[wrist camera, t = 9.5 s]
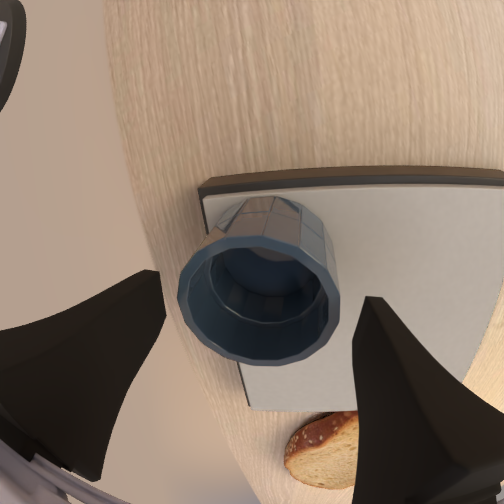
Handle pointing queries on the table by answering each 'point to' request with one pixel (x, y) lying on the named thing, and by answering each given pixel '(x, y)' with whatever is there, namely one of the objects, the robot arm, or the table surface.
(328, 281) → the cup
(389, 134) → the table surface
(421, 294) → the scale
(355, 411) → the slice of bread
